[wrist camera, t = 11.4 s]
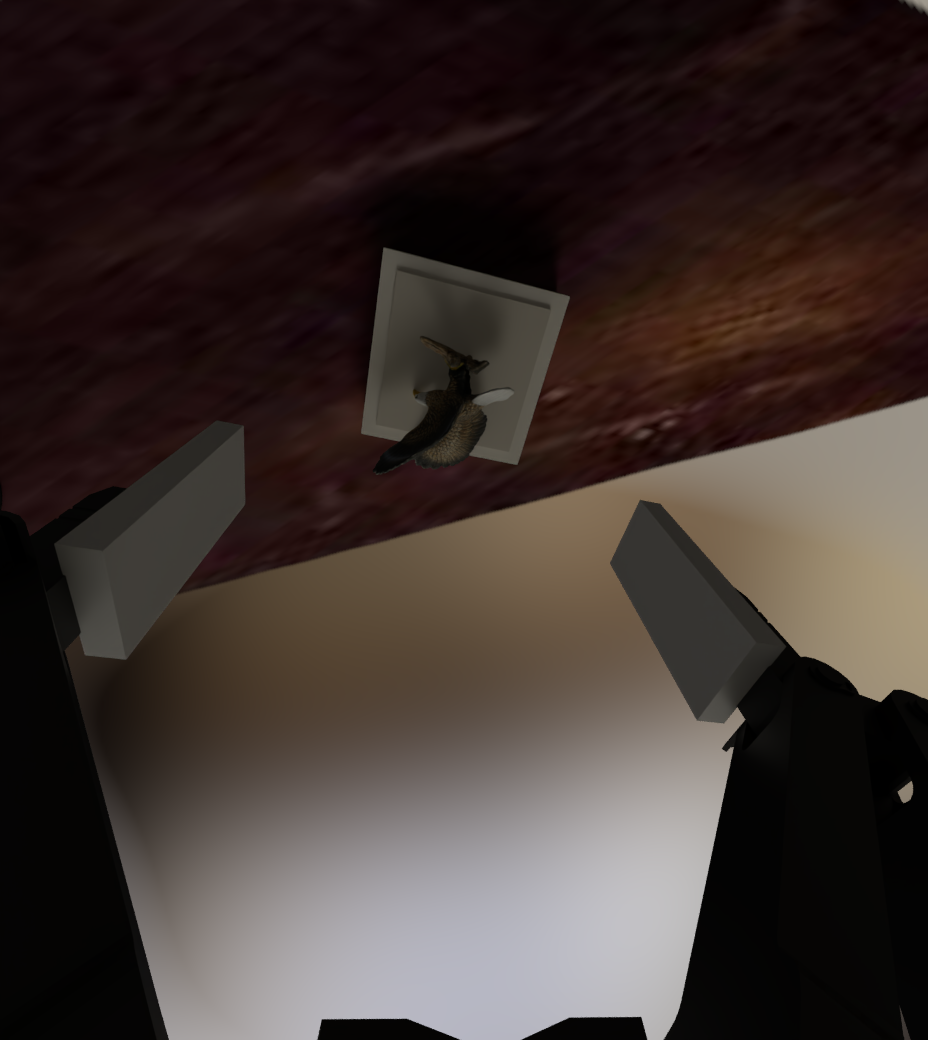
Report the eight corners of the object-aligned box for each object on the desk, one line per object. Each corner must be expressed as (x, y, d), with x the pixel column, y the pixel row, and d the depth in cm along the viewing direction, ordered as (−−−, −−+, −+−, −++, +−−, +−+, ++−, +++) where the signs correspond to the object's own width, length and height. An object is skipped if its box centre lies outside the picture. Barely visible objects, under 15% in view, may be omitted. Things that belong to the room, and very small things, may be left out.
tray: (368, 416, 36) (360, 435, 33) (390, 248, 31) (383, 247, 27) (510, 445, 38) (517, 466, 35) (556, 292, 32) (571, 297, 29)
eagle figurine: (386, 322, 28) (349, 458, 31) (453, 344, 23) (403, 502, 26) (474, 358, 33) (436, 471, 36) (543, 381, 28) (493, 509, 31)
